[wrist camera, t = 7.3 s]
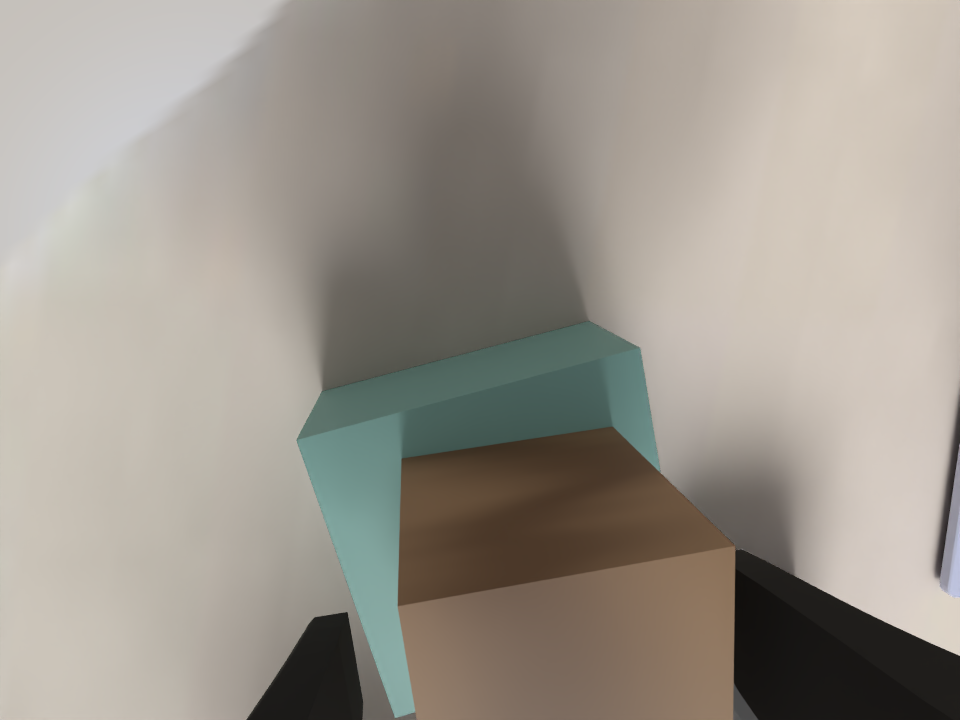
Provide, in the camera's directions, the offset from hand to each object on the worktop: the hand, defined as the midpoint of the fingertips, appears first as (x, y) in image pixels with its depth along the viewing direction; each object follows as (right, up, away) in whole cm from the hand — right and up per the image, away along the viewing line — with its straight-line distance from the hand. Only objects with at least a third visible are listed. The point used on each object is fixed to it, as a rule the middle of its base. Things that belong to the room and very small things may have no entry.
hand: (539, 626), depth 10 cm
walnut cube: (0, +1, +3) cm, 3 cm away
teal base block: (-1, +2, +7) cm, 7 cm away
